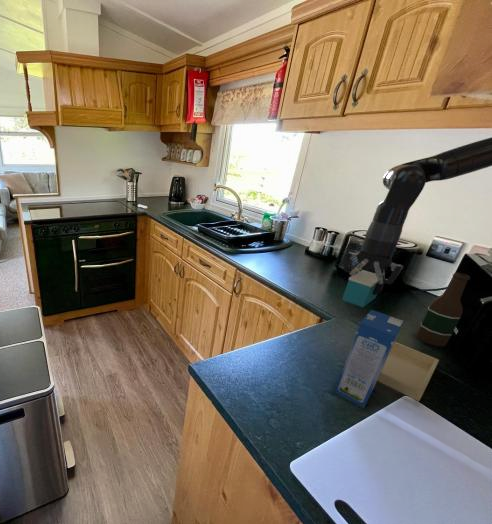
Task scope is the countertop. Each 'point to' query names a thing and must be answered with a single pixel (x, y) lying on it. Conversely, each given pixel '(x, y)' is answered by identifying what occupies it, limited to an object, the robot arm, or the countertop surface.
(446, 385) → the countertop surface
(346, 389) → the milk carton
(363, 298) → the white and teal box
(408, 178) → the robot arm
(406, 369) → the crate
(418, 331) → the beer bottle
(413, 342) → the countertop surface
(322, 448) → the countertop surface
